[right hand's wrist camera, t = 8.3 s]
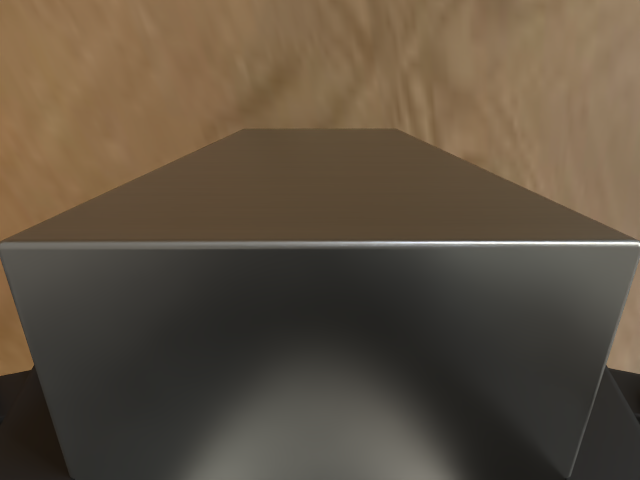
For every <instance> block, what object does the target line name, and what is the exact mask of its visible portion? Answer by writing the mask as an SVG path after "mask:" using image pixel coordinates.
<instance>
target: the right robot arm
mask: <svg viewBox="0 0 640 480" xmlns="http://www.w3.org/2000/svg"><path fill="white" fill-rule="evenodd" d="M0 480H75V479H73V478H71V477H70V475H69V472H68V469H67V466H66V462H65V459H64V456H63V453H62V450H61V447H60V444H59V440H58V437H57V434H56V431H55V428H54V425H53V422H52V418H51V415H50V412H49V409H48V406H47V403H46V400H45V396H44V393H43V390H42V387H41V384H40V381H39V378H38V374H37V371H36V368H35V365H34V366H33V368H32V370H29V371H24V372H19V373H14V374H9V375H4V376H0ZM565 480H640V374H636V373H631V372H625V371H620V370H615V369H610V368H608V367H607V366H605V369H604V372H603V375H602V378H601V382H600V385H599V388H598V391H597V394H596V397H595V400H594V404H593V407H592V410H591V413H590V416H589V419H588V423H587V426H586V429H585V432H584V435H583V438H582V441H581V445H580V448H579V451H578V454H577V457H576V460H575V464H574V467H573V470H572V473H571V476H570V477H568V478H565Z"/></svg>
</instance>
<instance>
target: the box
mask: <svg viewBox="0 0 640 480" xmlns="http://www.w3.org/2000/svg"><path fill="white" fill-rule="evenodd" d="M0 258H1V261H2V264H3V268H4V271H5V274H6V277H7V280H8V283H9V286H10V290H11V293H12V296H13V299H14V302H15V305H16V308H17V312H18V315H19V318H20V321H21V324H22V327H23V330H24V334H25V337H26V340H27V343H28V346H29V349H30V352H31V356H32V359H33V362H34V365H35V368H36V371H37V374H38V378H39V381H40V384H41V387H42V390H43V393H44V396H45V400H46V403H47V406H48V409H49V412H50V415H51V418H52V422H53V425H54V428H55V431H56V434H57V437H58V440H59V444H60V447H61V450H62V453H63V456H64V459H65V462H66V466H67V469H68V472H69V475H70V477H71V478H73V479H75V480H565V478H568V477H570V476H571V473H572V470H573V467H574V464H575V460H576V457H577V454H578V451H579V448H580V445H581V441H582V438H583V435H584V432H585V429H586V426H587V423H588V419H589V416H590V413H591V410H592V407H593V404H594V400H595V397H596V394H597V391H598V388H599V385H600V382H601V378H602V375H603V372H604V369H605V366H606V363H607V360H608V356H609V353H610V350H611V347H612V344H613V341H614V337H615V334H616V331H617V328H618V325H619V322H620V319H621V315H622V312H623V309H624V306H625V303H626V300H627V296H628V293H629V290H630V287H631V284H632V281H633V278H634V274H635V271H636V268H637V265H638V262H639V259H640V241H639V240H636V239H634V238H632V237H630V236H628V235H625V234H623V233H621V232H619V231H617V230H615V229H612V228H610V227H608V226H606V225H604V224H602V223H599V222H597V221H595V220H593V219H591V218H589V217H586V216H584V215H582V214H580V213H578V212H576V211H573V210H571V209H569V208H567V207H565V206H563V205H560V204H558V203H556V202H554V201H552V200H550V199H547V198H545V197H543V196H541V195H539V194H537V193H534V192H532V191H530V190H528V189H526V188H523V187H521V186H519V185H517V184H515V183H513V182H510V181H508V180H506V179H504V178H502V177H500V176H497V175H495V174H493V173H491V172H489V171H487V170H484V169H482V168H480V167H478V166H476V165H474V164H471V163H469V162H467V161H465V160H463V159H461V158H458V157H456V156H454V155H452V154H450V153H448V152H445V151H443V150H441V149H439V148H437V147H435V146H432V145H430V144H428V143H426V142H424V141H422V140H419V139H417V138H415V137H413V136H411V135H408V134H406V133H404V132H402V131H400V130H398V129H243V130H240V131H238V132H236V133H234V134H232V135H230V136H227V137H225V138H223V139H221V140H219V141H217V142H214V143H212V144H210V145H208V146H206V147H204V148H201V149H199V150H197V151H195V152H193V153H191V154H188V155H186V156H184V157H182V158H180V159H178V160H175V161H173V162H171V163H169V164H167V165H165V166H163V167H160V168H158V169H156V170H154V171H152V172H150V173H147V174H145V175H143V176H141V177H139V178H137V179H134V180H132V181H130V182H128V183H126V184H124V185H121V186H119V187H117V188H115V189H113V190H111V191H108V192H106V193H104V194H102V195H100V196H98V197H95V198H93V199H91V200H89V201H87V202H85V203H82V204H80V205H78V206H76V207H74V208H72V209H70V210H67V211H65V212H63V213H61V214H59V215H57V216H54V217H52V218H50V219H48V220H46V221H44V222H41V223H39V224H37V225H35V226H33V227H31V228H28V229H26V230H24V231H22V232H20V233H18V234H15V235H13V236H11V237H9V238H7V239H5V240H2V241H0Z"/></svg>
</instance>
